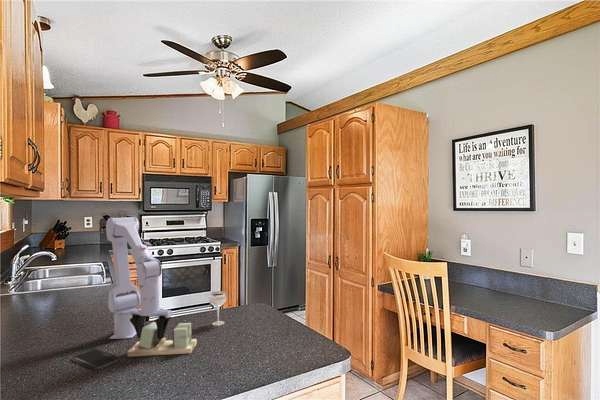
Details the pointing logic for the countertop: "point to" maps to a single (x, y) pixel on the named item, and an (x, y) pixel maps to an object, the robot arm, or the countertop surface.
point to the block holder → (169, 343)
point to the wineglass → (217, 303)
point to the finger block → (149, 336)
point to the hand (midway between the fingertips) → (150, 337)
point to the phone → (96, 359)
